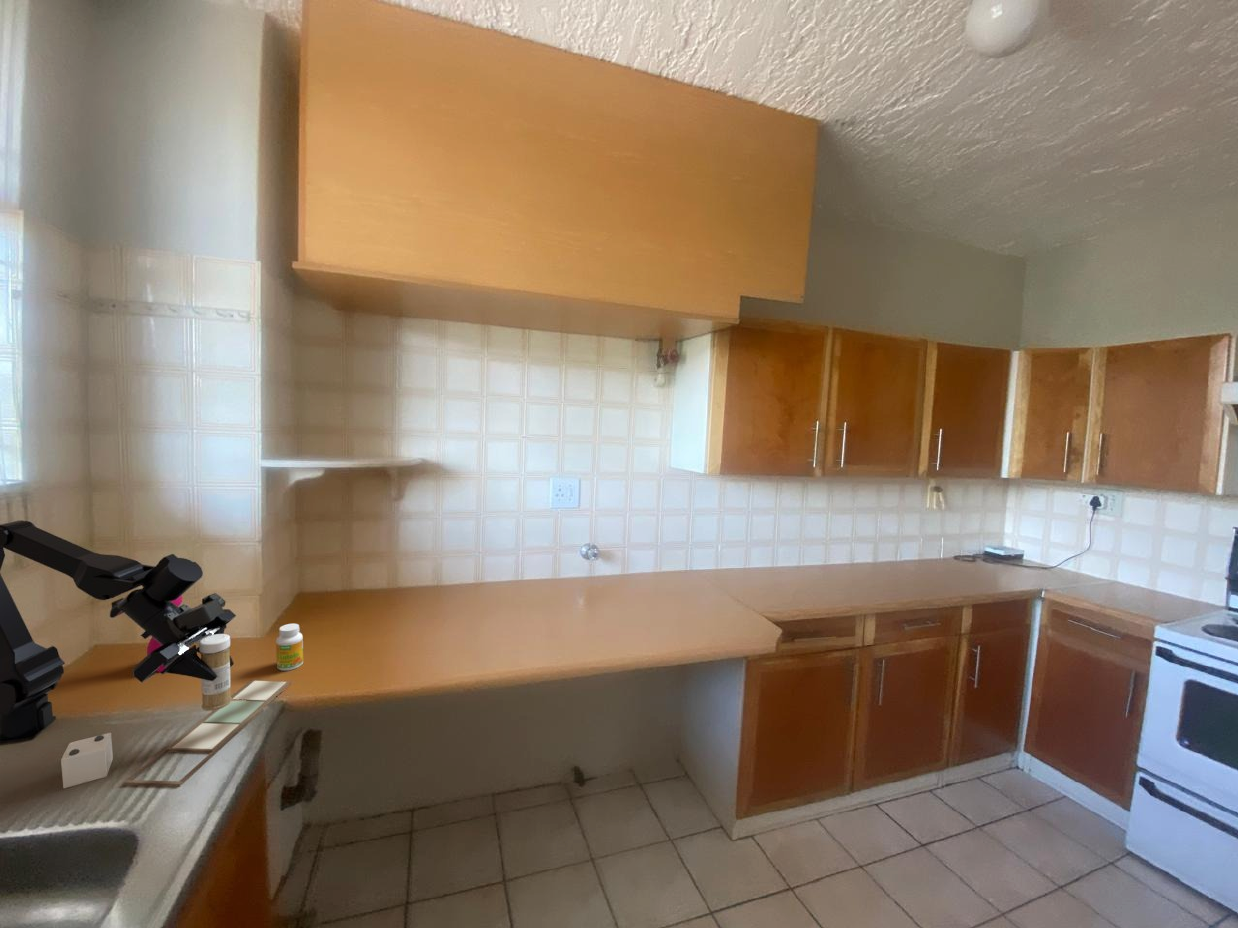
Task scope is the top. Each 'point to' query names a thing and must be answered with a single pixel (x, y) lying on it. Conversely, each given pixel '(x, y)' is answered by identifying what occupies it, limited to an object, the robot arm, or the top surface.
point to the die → (87, 760)
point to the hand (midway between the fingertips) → (223, 672)
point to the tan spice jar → (216, 671)
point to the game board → (218, 727)
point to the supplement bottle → (289, 647)
